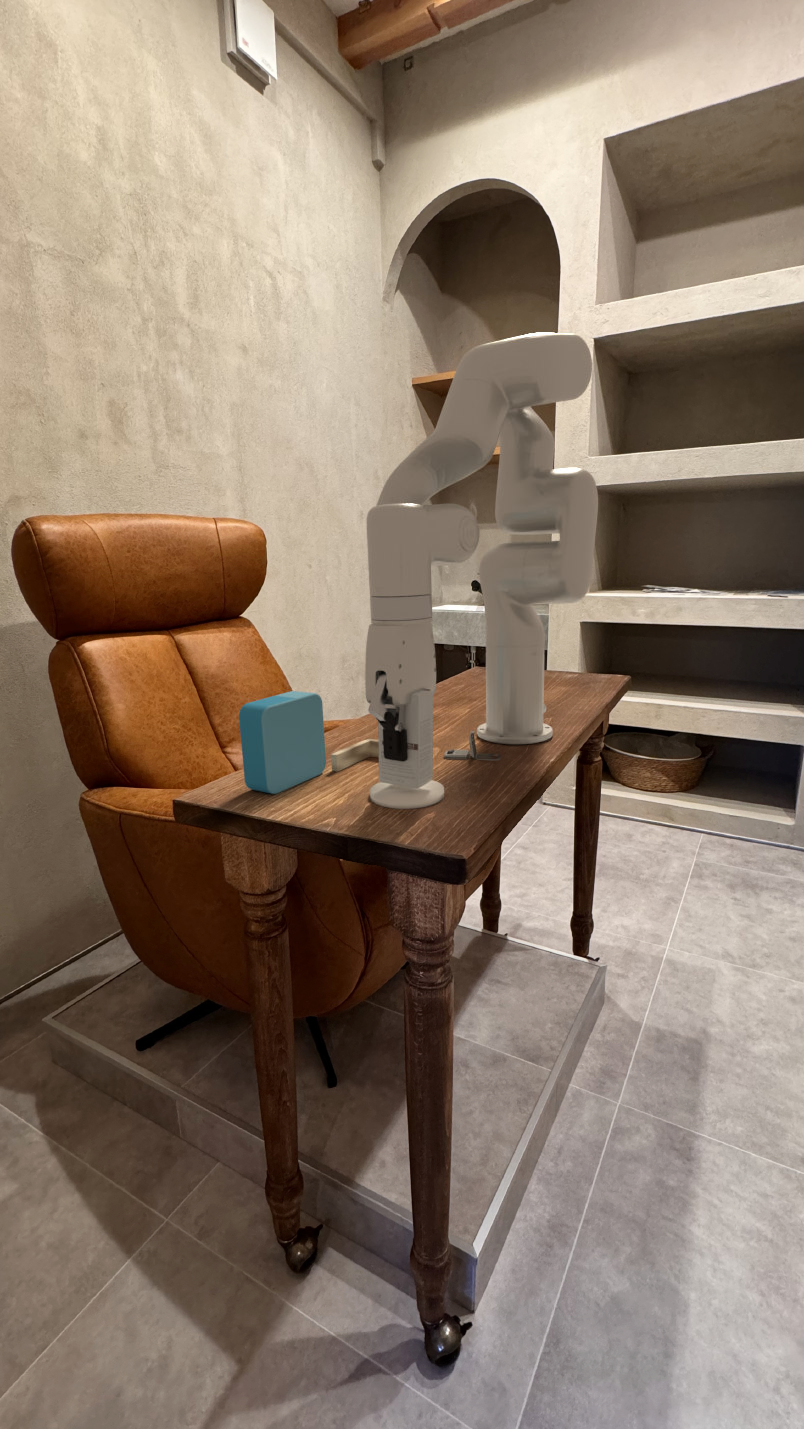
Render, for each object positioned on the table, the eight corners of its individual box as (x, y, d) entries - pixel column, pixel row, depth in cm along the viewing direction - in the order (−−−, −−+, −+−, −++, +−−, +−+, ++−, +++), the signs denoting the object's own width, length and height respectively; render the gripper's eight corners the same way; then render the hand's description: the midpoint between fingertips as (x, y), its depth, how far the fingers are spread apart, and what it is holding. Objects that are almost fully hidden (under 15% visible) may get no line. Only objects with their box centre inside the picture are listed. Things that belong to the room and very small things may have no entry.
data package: (303, 767, 100) (298, 688, 97) (327, 772, 98) (322, 691, 95) (244, 792, 90) (236, 705, 87) (269, 797, 88) (261, 708, 85)
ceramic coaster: (395, 779, 93) (395, 773, 93) (457, 789, 88) (457, 783, 88) (355, 801, 85) (355, 795, 85) (420, 814, 80) (419, 807, 80)
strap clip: (443, 760, 102) (442, 734, 101) (446, 755, 105) (445, 728, 104) (499, 762, 100) (499, 735, 99) (501, 756, 103) (501, 729, 102)
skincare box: (377, 783, 86) (373, 691, 83) (395, 773, 90) (392, 684, 87) (420, 790, 83) (416, 694, 80) (436, 779, 87) (434, 687, 84)
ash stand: (369, 753, 106) (368, 738, 105) (426, 762, 100) (426, 746, 100) (332, 770, 98) (330, 754, 97) (392, 781, 92) (391, 763, 92)
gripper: (411, 604, 90) (415, 734, 95) (334, 616, 76) (343, 768, 81) (460, 604, 86) (462, 741, 91) (389, 617, 73) (395, 777, 77)
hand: (406, 752), depth 86 cm, fingers closed on skincare box, 4 cm apart
